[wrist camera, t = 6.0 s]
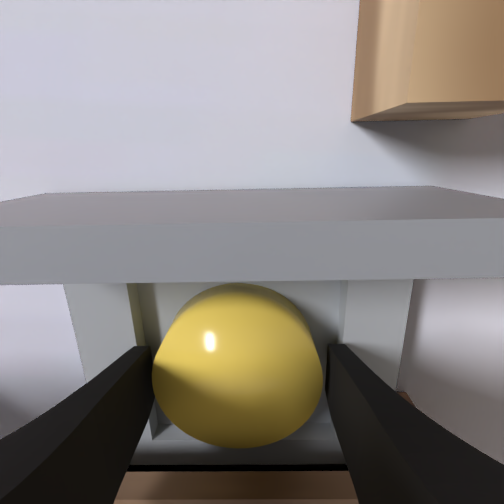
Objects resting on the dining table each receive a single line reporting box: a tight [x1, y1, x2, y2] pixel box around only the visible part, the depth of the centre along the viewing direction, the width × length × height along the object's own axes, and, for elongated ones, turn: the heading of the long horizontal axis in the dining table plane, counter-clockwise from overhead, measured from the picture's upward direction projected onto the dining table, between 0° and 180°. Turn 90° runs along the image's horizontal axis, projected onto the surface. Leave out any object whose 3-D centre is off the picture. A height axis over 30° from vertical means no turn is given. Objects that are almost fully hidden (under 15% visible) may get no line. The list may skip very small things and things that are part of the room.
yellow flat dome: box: [152, 283, 323, 449], centre depth 11 cm, size 6×6×2 cm
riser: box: [351, 0, 504, 122], centre depth 8 cm, size 4×4×4 cm
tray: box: [0, 186, 504, 465], centre depth 10 cm, size 14×12×6 cm
